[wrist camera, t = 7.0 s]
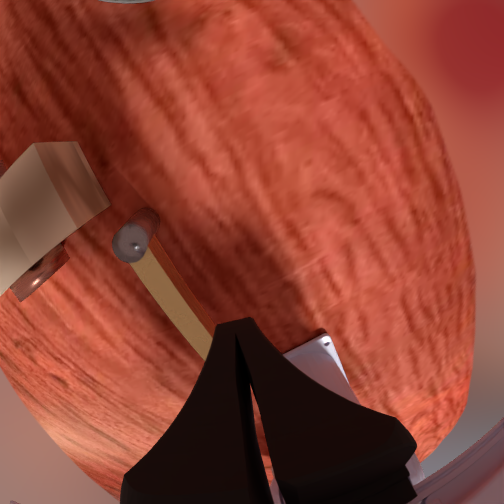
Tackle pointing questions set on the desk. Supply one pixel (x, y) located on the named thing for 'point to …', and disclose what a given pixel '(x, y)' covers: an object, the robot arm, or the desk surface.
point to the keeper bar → (163, 278)
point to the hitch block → (44, 204)
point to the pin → (37, 266)
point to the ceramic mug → (127, 1)
